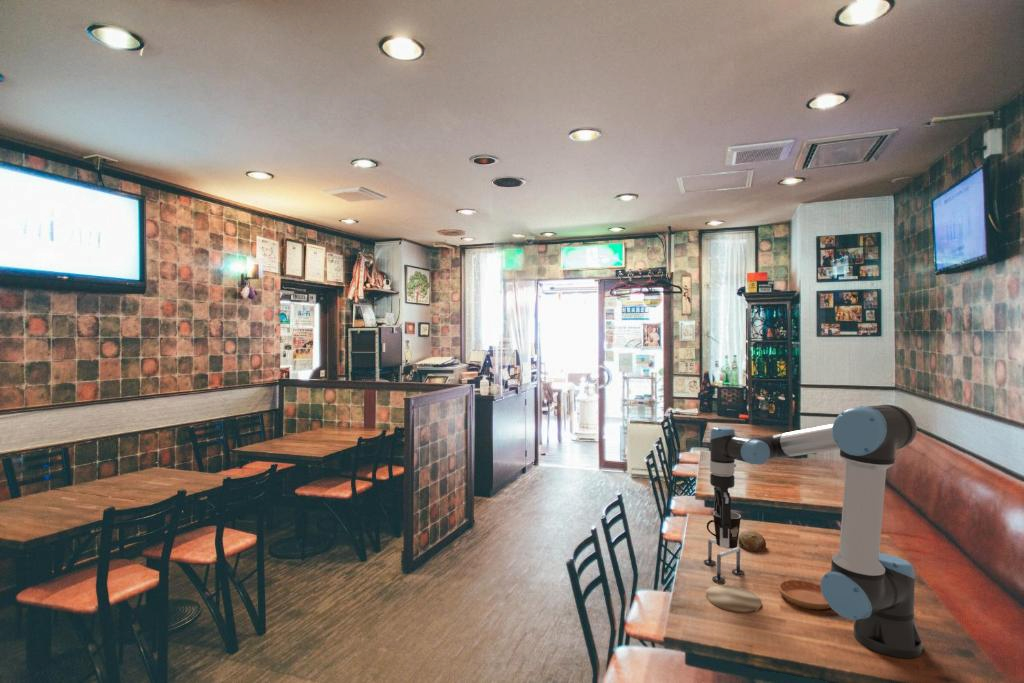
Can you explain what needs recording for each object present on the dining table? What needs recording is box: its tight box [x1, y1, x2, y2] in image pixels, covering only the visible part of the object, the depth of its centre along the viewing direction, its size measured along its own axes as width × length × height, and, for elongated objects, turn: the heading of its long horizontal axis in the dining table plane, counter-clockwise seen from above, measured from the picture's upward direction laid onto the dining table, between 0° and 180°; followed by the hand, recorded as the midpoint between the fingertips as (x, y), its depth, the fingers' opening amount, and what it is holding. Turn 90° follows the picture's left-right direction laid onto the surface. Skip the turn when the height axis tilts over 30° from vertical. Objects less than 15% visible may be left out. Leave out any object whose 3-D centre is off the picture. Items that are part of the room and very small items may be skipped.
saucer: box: [778, 579, 831, 611], centre depth 168 cm, size 16×16×3 cm
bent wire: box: [703, 537, 745, 584], centre depth 187 cm, size 18×12×9 cm, turn 171°
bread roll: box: [737, 530, 767, 552], centre depth 211 cm, size 10×10×8 cm
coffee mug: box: [706, 511, 742, 549], centre depth 178 cm, size 12×9×10 cm
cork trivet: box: [705, 584, 762, 614], centre depth 168 cm, size 16×16×1 cm
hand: (722, 543), depth 179 cm, fingers closed on coffee mug, 6 cm apart
